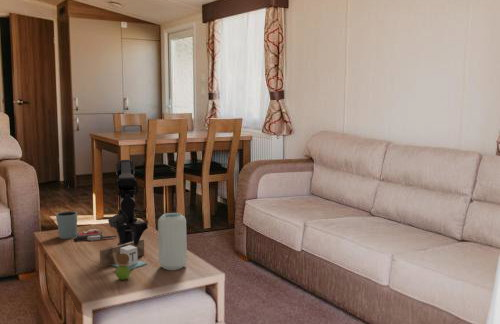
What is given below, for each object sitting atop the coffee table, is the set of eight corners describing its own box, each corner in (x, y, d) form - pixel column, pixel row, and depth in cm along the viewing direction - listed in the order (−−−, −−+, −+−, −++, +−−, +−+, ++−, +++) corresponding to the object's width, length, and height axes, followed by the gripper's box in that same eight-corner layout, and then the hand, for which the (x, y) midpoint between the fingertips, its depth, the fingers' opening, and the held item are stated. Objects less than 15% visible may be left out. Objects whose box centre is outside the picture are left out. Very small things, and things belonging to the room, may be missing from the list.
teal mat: (131, 259, 220) (131, 258, 220) (146, 264, 213) (146, 263, 213) (112, 265, 212) (112, 264, 212) (127, 270, 206) (127, 269, 206)
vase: (186, 261, 217) (185, 211, 214) (187, 271, 206) (186, 217, 203) (159, 263, 215) (157, 212, 212) (158, 272, 204) (157, 218, 201)
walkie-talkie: (74, 243, 245) (116, 239, 251) (74, 234, 244) (116, 230, 251) (74, 238, 253) (115, 234, 259) (74, 229, 253) (115, 226, 259)
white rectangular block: (130, 261, 216) (129, 245, 215) (137, 263, 213) (137, 247, 212) (120, 264, 212) (120, 247, 211) (128, 266, 209) (127, 250, 208)
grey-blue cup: (74, 239, 250) (72, 215, 248) (53, 239, 250) (52, 215, 248) (81, 233, 260) (80, 211, 258) (61, 233, 260) (60, 210, 258)
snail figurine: (114, 276, 199) (113, 247, 197) (131, 276, 199) (130, 247, 198) (112, 282, 194) (111, 251, 192) (129, 281, 194) (128, 251, 193)
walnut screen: (142, 253, 227) (141, 238, 227) (144, 254, 227) (143, 239, 226) (100, 266, 211) (99, 250, 210) (102, 267, 210) (101, 251, 209)
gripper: (97, 207, 209) (99, 243, 211) (125, 213, 197) (126, 252, 199) (119, 202, 217) (121, 237, 219) (148, 208, 206) (149, 245, 208)
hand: (128, 243), depth 211 cm, fingers open, 9 cm apart
